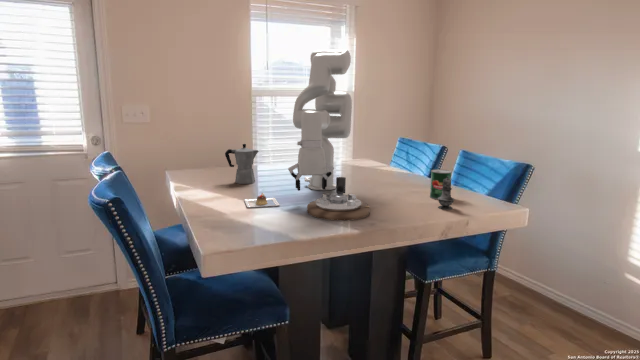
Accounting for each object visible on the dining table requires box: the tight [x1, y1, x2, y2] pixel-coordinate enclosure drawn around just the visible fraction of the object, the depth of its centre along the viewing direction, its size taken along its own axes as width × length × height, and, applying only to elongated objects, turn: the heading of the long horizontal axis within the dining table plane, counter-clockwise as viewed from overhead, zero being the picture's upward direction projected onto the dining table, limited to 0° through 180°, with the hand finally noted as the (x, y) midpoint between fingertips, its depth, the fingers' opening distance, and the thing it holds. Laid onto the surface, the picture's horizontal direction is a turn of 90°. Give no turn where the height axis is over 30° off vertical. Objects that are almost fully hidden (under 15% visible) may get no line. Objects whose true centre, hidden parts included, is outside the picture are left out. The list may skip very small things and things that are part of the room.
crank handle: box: [315, 176, 362, 212], centre depth 153 cm, size 24×16×7 cm
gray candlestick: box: [437, 176, 455, 211], centre depth 155 cm, size 6×6×12 cm
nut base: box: [306, 200, 371, 222], centre depth 150 cm, size 22×22×2 cm
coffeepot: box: [224, 143, 260, 185], centre depth 197 cm, size 15×9×18 cm, turn 103°
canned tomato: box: [429, 168, 452, 200], centre depth 171 cm, size 8×8×11 cm
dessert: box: [243, 192, 281, 209], centre depth 160 cm, size 12×12×5 cm
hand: (311, 189), depth 161 cm, fingers open, 9 cm apart
